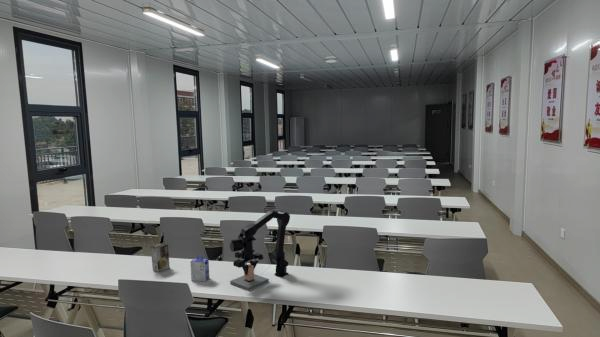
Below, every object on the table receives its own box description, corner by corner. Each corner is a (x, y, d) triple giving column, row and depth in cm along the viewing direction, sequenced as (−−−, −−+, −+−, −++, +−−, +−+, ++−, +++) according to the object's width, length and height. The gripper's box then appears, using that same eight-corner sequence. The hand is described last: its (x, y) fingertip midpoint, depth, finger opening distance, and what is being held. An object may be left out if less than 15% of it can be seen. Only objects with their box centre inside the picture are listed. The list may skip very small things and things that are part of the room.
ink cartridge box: (210, 278, 241) (208, 255, 239) (206, 281, 235) (204, 258, 234) (195, 277, 243) (193, 254, 241) (191, 280, 237) (189, 257, 236)
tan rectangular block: (249, 277, 234) (249, 264, 233) (254, 278, 232) (253, 265, 231) (244, 279, 231) (244, 266, 230) (249, 280, 229) (248, 267, 228)
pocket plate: (250, 275, 243) (250, 272, 243) (268, 281, 232) (268, 278, 232) (230, 283, 231) (230, 280, 231) (248, 290, 220) (248, 287, 220)
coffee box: (164, 265, 264) (162, 242, 262) (169, 267, 260) (168, 244, 258) (152, 270, 256) (150, 246, 254) (157, 272, 253) (156, 247, 251)
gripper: (250, 242, 241) (251, 266, 243) (226, 249, 228) (228, 275, 229) (263, 245, 234) (264, 270, 236) (239, 253, 220) (240, 280, 222)
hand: (249, 274), depth 231 cm, fingers closed on tan rectangular block, 4 cm apart
